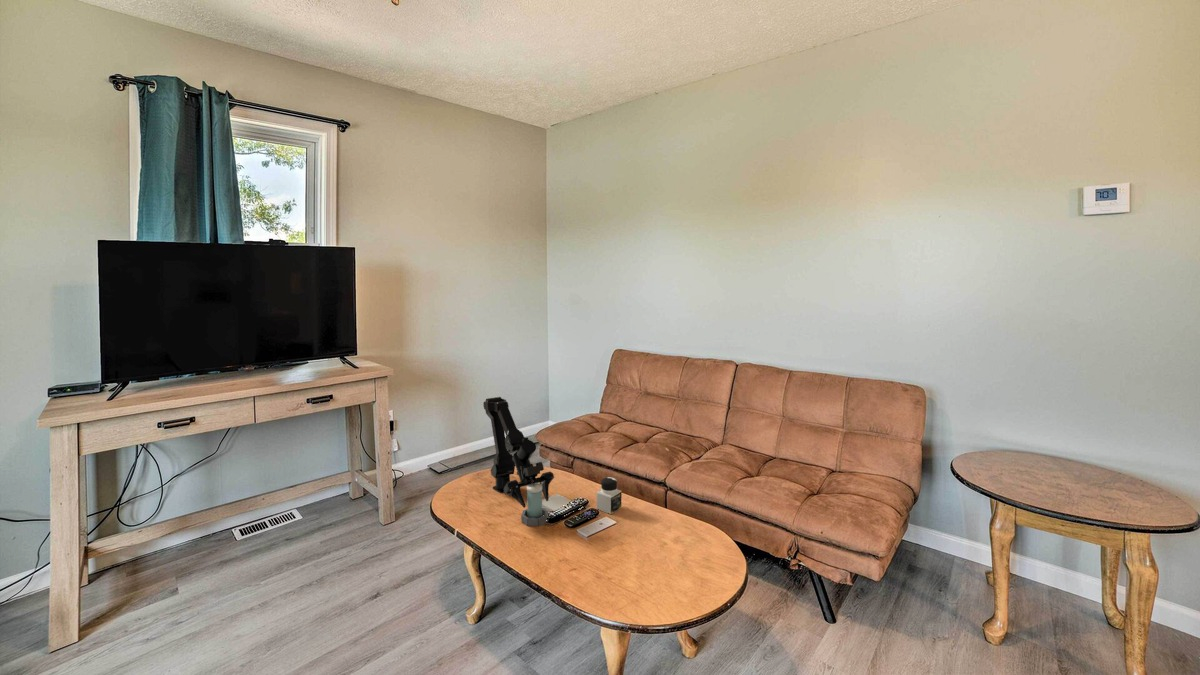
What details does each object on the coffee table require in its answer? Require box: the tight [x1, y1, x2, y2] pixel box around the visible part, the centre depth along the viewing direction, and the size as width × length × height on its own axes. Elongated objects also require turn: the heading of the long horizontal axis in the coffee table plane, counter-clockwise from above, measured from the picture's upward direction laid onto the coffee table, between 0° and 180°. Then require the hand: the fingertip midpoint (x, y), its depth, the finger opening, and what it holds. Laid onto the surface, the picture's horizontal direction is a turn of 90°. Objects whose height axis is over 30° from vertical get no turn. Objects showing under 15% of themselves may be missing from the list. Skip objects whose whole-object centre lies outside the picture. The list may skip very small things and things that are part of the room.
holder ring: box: [521, 507, 549, 527], centre depth 181 cm, size 10×10×2 cm
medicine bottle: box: [596, 476, 623, 515], centre depth 189 cm, size 7×7×12 cm
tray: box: [542, 493, 584, 516], centre depth 191 cm, size 16×10×1 cm, turn 44°
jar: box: [526, 482, 543, 518], centre depth 181 cm, size 6×6×13 cm
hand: (536, 504), depth 180 cm, fingers open, 9 cm apart
